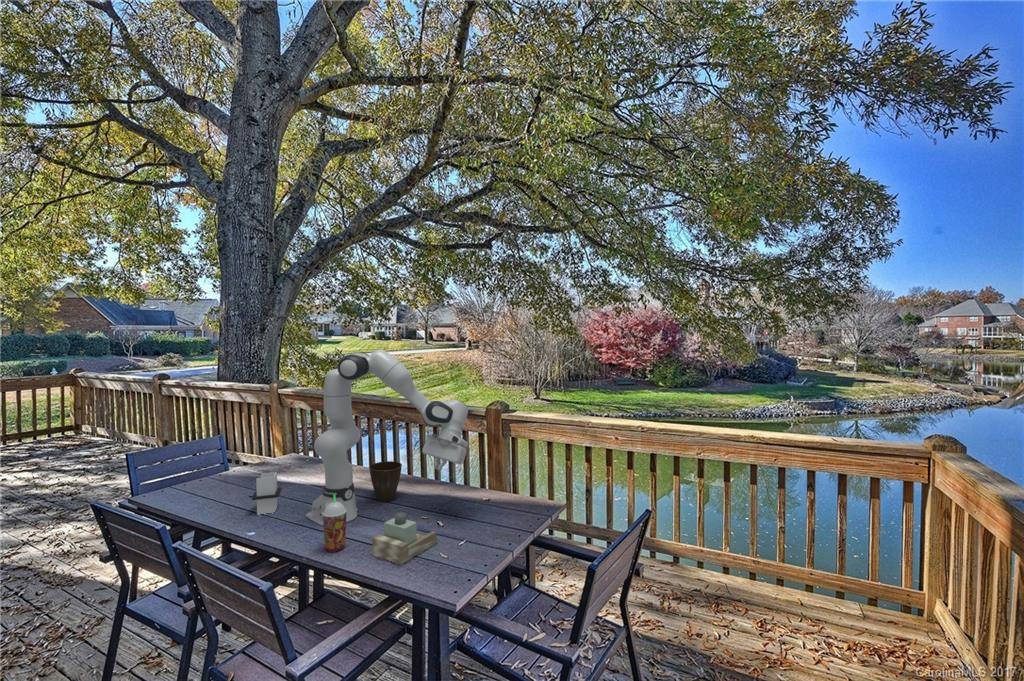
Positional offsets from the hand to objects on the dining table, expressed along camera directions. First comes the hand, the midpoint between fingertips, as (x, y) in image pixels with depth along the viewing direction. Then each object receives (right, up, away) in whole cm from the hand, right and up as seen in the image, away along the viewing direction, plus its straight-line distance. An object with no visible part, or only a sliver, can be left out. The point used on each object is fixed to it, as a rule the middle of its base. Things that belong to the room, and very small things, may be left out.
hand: (437, 469), depth 194 cm
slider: (-9, -21, -25) cm, 34 cm away
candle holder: (-78, -23, +14) cm, 83 cm away
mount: (-8, -23, -23) cm, 33 cm away
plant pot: (-29, -22, +28) cm, 46 cm away
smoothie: (-34, -23, -22) cm, 47 cm away
